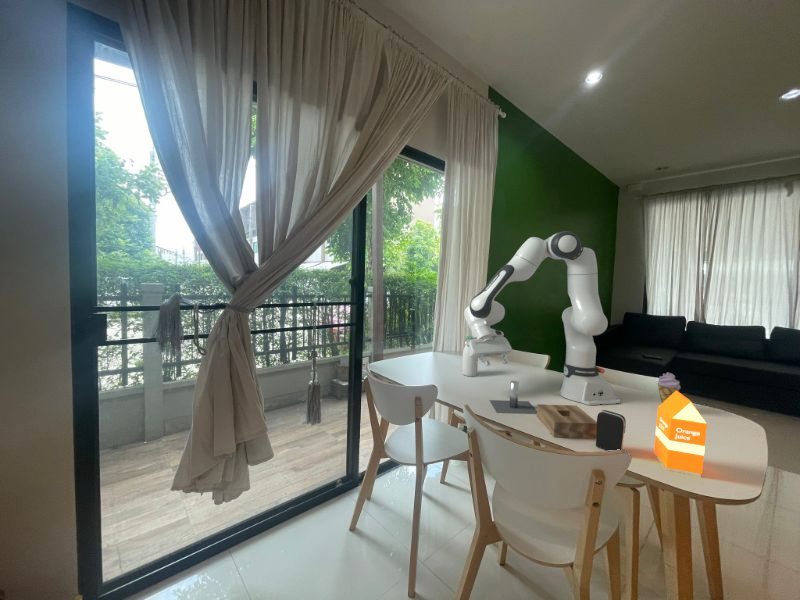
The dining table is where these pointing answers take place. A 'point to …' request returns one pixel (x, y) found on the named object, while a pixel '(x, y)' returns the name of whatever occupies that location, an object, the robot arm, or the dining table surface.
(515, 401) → the pin
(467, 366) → the milk bottle
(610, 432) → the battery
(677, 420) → the orange juice
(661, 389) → the ice cream cone
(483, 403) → the dining table surface
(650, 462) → the dining table surface
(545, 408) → the socket block
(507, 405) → the mat
